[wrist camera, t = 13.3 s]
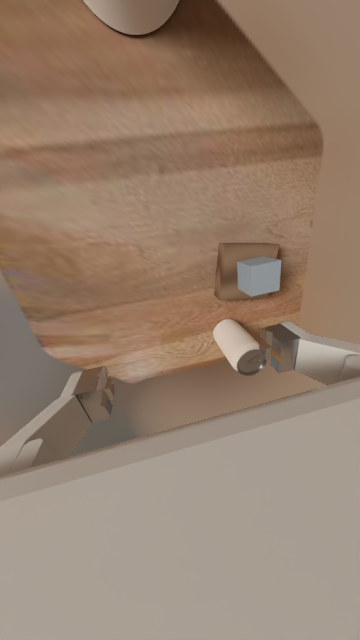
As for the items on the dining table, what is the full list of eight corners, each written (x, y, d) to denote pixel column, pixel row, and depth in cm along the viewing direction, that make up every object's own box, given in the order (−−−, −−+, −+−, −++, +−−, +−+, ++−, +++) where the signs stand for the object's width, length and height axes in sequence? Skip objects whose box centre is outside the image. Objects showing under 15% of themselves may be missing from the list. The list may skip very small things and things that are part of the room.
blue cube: (237, 261, 34) (251, 266, 29) (263, 256, 34) (281, 260, 30) (238, 288, 36) (251, 296, 32) (262, 283, 36) (279, 290, 32)
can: (208, 325, 43) (230, 357, 32) (235, 313, 42) (266, 341, 32) (216, 347, 45) (239, 382, 35) (241, 336, 45) (271, 369, 35)
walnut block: (218, 242, 36) (226, 244, 32) (266, 243, 37) (279, 244, 34) (213, 294, 40) (220, 300, 36) (257, 292, 42) (267, 298, 38)
